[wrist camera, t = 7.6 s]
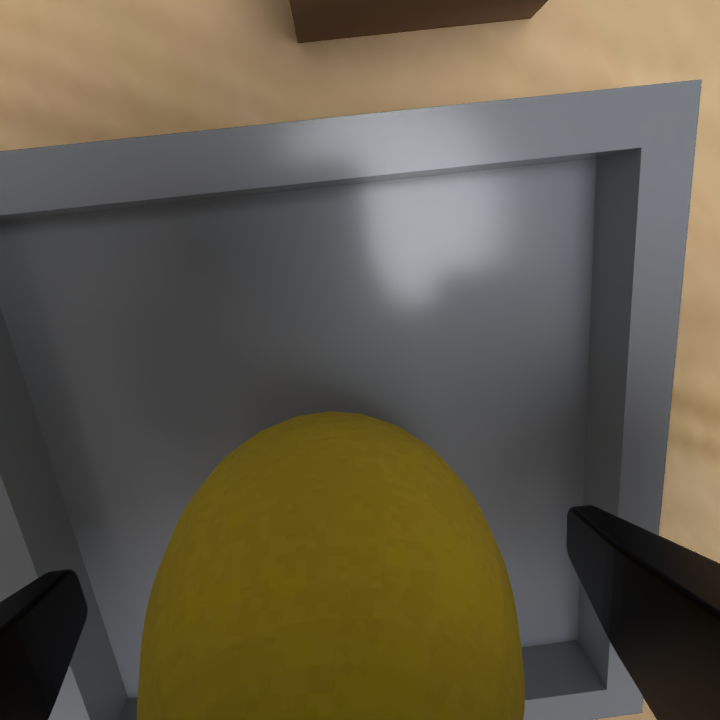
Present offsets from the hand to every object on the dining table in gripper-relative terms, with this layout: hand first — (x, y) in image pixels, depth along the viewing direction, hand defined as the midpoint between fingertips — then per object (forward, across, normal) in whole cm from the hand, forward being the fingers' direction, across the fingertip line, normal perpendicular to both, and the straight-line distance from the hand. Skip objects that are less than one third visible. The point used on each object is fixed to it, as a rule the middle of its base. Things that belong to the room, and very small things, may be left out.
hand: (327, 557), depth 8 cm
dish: (+4, 0, 0) cm, 4 cm away
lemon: (+3, 0, 0) cm, 3 cm away
